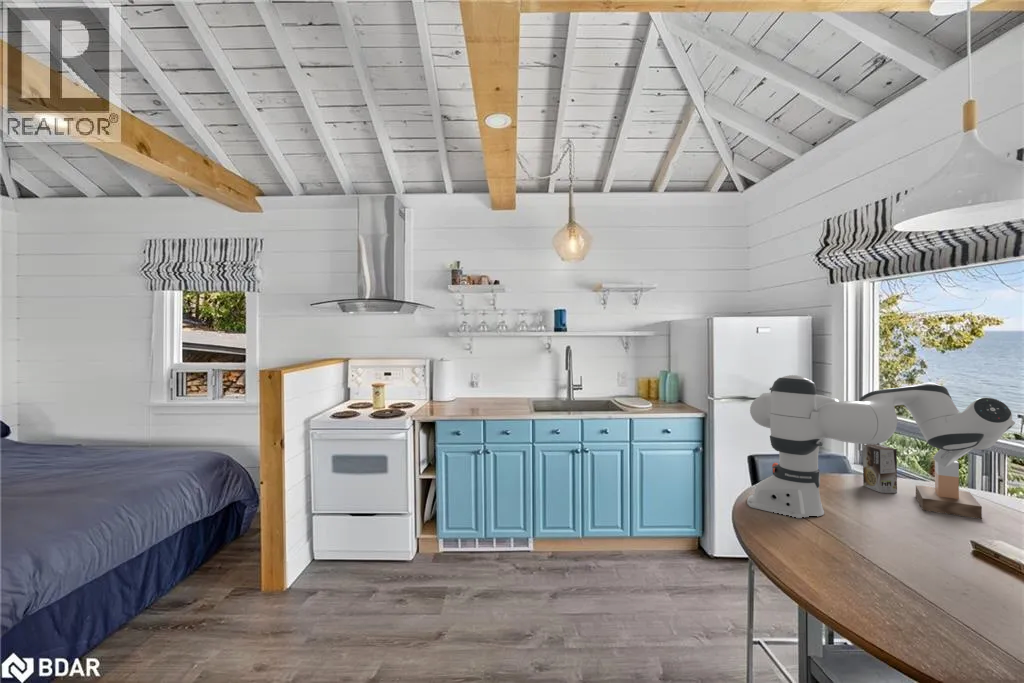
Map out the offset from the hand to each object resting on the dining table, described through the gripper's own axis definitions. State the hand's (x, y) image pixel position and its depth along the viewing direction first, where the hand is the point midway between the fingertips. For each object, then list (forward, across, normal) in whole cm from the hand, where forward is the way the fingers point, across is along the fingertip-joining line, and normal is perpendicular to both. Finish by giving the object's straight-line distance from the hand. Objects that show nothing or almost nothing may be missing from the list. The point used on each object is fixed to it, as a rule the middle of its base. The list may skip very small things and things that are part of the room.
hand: (963, 449), depth 139 cm
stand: (+30, -6, -7) cm, 32 cm away
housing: (+28, -4, -4) cm, 29 cm away
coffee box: (+41, -14, +9) cm, 44 cm away
